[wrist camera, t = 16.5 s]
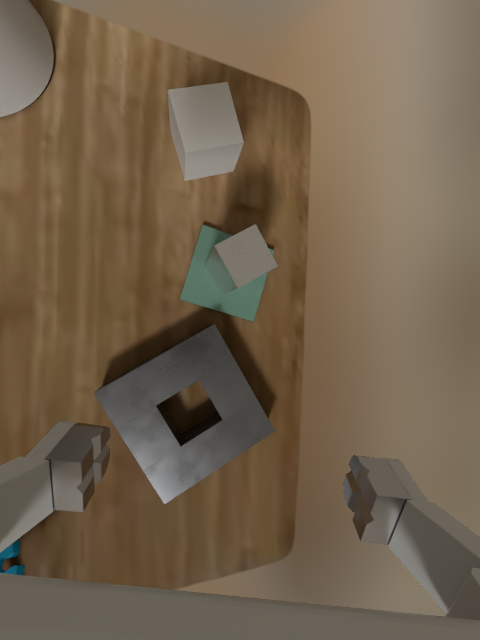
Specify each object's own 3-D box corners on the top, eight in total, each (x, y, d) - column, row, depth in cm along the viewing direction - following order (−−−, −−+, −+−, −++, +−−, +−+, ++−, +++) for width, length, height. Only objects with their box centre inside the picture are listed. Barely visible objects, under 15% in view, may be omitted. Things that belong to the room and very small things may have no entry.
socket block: (166, 487, 34) (164, 504, 31) (101, 385, 32) (93, 392, 29) (267, 421, 36) (275, 431, 33) (211, 323, 35) (214, 324, 32)
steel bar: (221, 296, 34) (237, 288, 24) (205, 265, 34) (214, 245, 24) (251, 280, 35) (277, 266, 25) (234, 250, 34) (255, 223, 25)
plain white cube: (220, 121, 35) (227, 81, 29) (233, 171, 35) (244, 142, 29) (169, 129, 33) (167, 89, 28) (184, 181, 34) (185, 152, 28)
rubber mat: (180, 299, 34) (180, 299, 33) (202, 226, 34) (202, 224, 34) (252, 321, 36) (253, 321, 35) (272, 251, 36) (274, 250, 35)
